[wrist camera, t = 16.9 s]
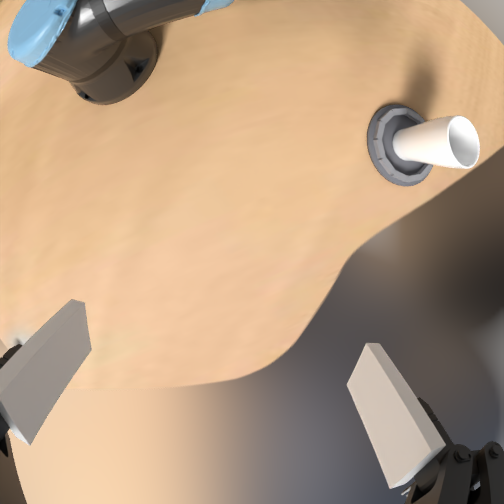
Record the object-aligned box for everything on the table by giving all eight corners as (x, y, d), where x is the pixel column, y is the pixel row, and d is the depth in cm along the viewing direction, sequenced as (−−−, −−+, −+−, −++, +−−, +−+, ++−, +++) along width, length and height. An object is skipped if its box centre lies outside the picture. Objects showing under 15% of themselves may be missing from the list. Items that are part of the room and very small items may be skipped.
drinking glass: (424, 141, 36) (485, 138, 22) (410, 172, 38) (471, 180, 24) (396, 117, 35) (455, 103, 21) (381, 149, 37) (440, 146, 23)
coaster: (357, 108, 36) (362, 106, 34) (421, 104, 35) (428, 102, 33) (376, 192, 40) (382, 194, 38) (437, 179, 39) (444, 180, 37)
